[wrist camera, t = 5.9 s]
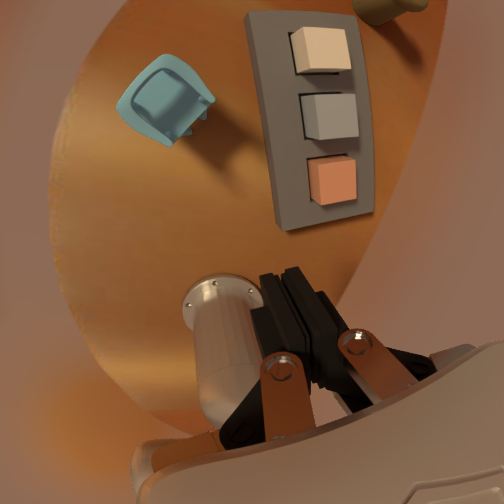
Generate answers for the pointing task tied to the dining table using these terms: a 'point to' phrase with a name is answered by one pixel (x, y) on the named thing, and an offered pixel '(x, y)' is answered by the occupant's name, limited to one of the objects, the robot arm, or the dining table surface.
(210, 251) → the dining table surface
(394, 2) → the cork
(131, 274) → the dining table surface
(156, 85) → the chair
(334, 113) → the slate button
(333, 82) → the button panel
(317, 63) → the cream button
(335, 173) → the terracotta button
